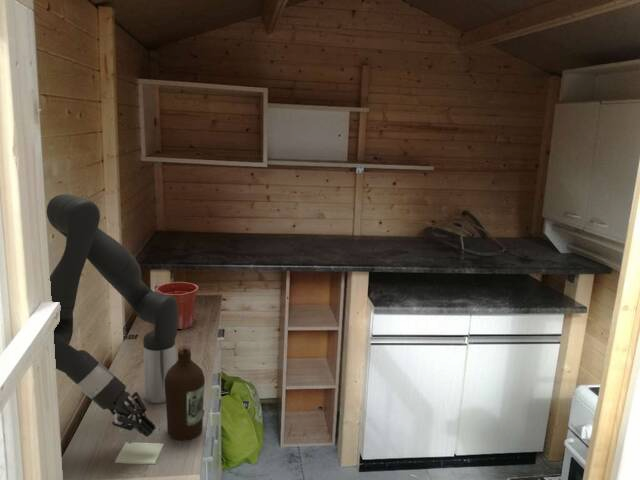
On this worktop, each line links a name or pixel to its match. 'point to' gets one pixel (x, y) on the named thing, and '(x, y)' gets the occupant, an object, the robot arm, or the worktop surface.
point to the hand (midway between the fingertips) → (151, 431)
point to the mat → (139, 453)
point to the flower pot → (181, 300)
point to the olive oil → (184, 397)
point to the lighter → (135, 434)
